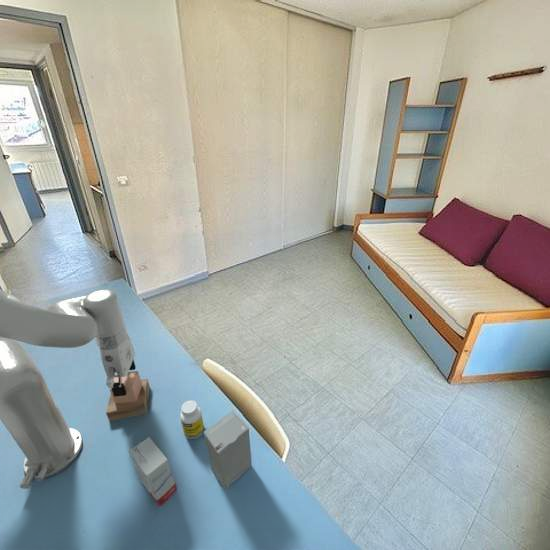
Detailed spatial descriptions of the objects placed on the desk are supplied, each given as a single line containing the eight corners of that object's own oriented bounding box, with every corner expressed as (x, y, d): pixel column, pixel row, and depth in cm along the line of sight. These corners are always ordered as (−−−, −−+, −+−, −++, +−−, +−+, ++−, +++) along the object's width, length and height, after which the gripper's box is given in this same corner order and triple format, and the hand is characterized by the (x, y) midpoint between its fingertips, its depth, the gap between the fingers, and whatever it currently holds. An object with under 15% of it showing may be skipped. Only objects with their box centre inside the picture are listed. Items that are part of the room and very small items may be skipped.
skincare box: (237, 447, 79) (232, 406, 72) (254, 468, 74) (251, 427, 67) (209, 470, 74) (200, 428, 67) (225, 494, 69) (218, 452, 62)
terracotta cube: (136, 401, 88) (132, 387, 85) (115, 403, 87) (109, 389, 84) (142, 385, 93) (138, 371, 90) (122, 387, 92) (117, 372, 90)
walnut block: (147, 413, 89) (144, 404, 87) (109, 422, 86) (106, 413, 85) (149, 387, 97) (147, 378, 95) (115, 394, 95) (112, 385, 93)
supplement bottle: (184, 442, 81) (178, 417, 76) (183, 424, 85) (178, 400, 80) (204, 436, 82) (200, 412, 77) (203, 419, 86) (199, 395, 82)
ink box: (178, 490, 70) (169, 459, 65) (158, 508, 67) (147, 478, 62) (159, 465, 75) (149, 435, 70) (140, 480, 72) (128, 450, 67)
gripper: (116, 355, 73) (131, 404, 81) (134, 314, 88) (145, 359, 96) (82, 358, 72) (101, 408, 80) (107, 317, 87) (120, 362, 95)
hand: (125, 381), depth 88 cm, fingers open, 9 cm apart
